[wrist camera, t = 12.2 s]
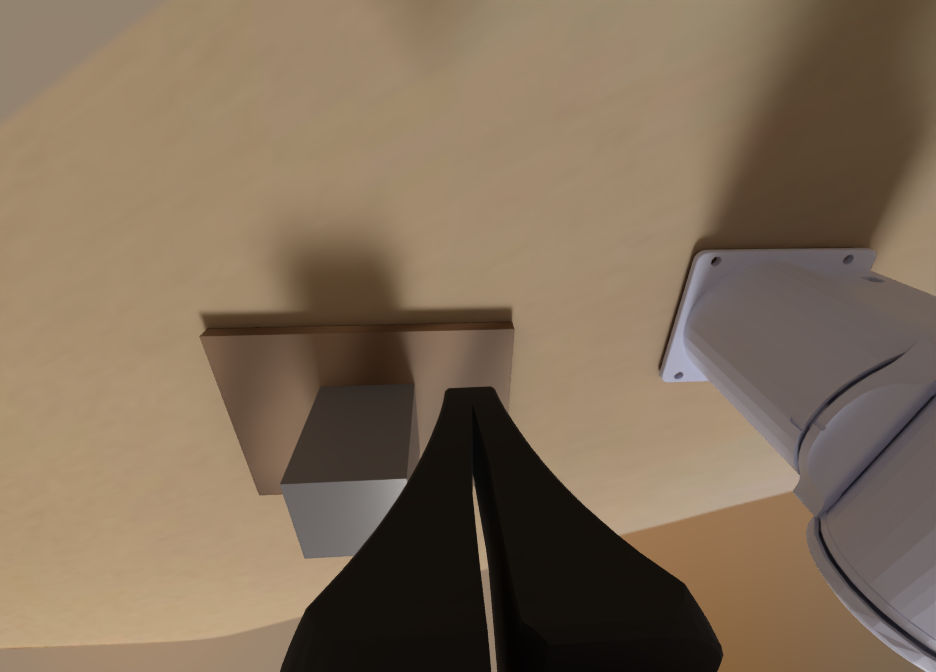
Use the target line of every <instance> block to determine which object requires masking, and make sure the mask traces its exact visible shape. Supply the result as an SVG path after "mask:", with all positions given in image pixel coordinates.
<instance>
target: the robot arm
mask: <svg viewBox="0 0 936 672" xmlns="http://www.w3.org/2000/svg"><path fill="white" fill-rule="evenodd" d="M715 257H717V259H716V261H715V262H714V263H712V264H711V261H712V259H714V258H715ZM845 257H846V259H845V260H844V258H845ZM875 259H876V252H875V251H874V250H872V249H869V248H811V249H731V250H702V251H700V252H699V253H697V254H696V255H695V257H694V259H693V262H692V266H691V269H690V272H689V276H688V279H687V282H686V286H685V289H684V292H683V296H682V299H681V302H680V306H679V309H678V312H677V316H676V319H675V322H674V326H673V329H672V332H671V336H670V339H669V342H668V346H667V349H666V352H665V356H664V359H663V363H662V366H661V369H660V373H659V376H660V377H661V379H662V380H663V381H665V382H690V381H710V382H711V383H712V384H713V385H714V386H715V387H716V388H717V390H718V391H719V392H720V393H721V394H722V395H723V396H724V397H725V398H726V399H727V400H728V401H729V402H730V403H731V404H732V405H733V406H734V407H735V408H736V409H737V410H738V411H739V412H740V413H741V415H742V416H743V417H744V418H745V419H746V420H747V421H748V422H749V423H750V424H751V425H752V426H753V427H754V428H755V429H756V430H757V431H758V432H759V433H760V434H761V435H762V436H763V437H764V438H765V440H766V441H767V442H768V443H769V444H770V445H771V446H772V447H773V448H774V449H775V450H776V451H777V452H778V453H779V454H780V455H781V456H782V457H783V458H784V459H785V460H786V461H787V462H788V464H789V465H790V466H791V467H792V468H793V469H794V470H795V471H796V472H797V473H798V474H799V475H800V480H799V482H798V484H797V486H796V487H795V489H794V490H793V493H794V494H795V495H796V496H797V497H798V498H799V500H800V501H801V502H802V503H803V504H804V505H805V506H806V507H807V508H808V509H809V511H810V512H811V513H812V514H813V515H814V517H813V518H812V519H811V520H810V522H809V523H808V526H807V530H806V539H807V544H808V548H809V551H810V554H811V555H812V558H813V560H814V562H815V563H816V566H817V568H818V569H819V571H820V572H821V574H822V576H823V577H824V579H825V580H826V582H827V583H828V584H829V586H830V587H831V589H832V590H833V591H834V593H835V594H836V596H837V597H838V598H839V599H840V601H841V602H842V603H843V604H844V605H845V606H846V608H847V609H848V610H849V611H850V612H851V613H852V614H853V615H854V616H855V617H856V618H857V619H858V620H859V621H860V622H861V623H862V624H863V625H864V626H865V627H866V628H867V629H868V630H869V631H870V632H872V633H873V634H874V635H875V636H876V637H877V638H879V639H880V640H881V641H882V642H883V643H885V644H886V645H887V646H889V647H890V648H891V649H892V650H894V651H895V652H897V653H898V654H899V655H901V656H902V657H904V658H905V659H907V660H908V661H910V662H911V663H913V664H914V665H916V666H917V667H919V668H921V669H922V670H924V671H926V672H936V296H933V295H931V294H928V293H926V292H923V291H921V290H918V289H916V288H913V287H911V286H908V285H906V284H903V283H901V282H898V281H896V280H893V279H891V278H888V277H886V276H883V275H880V274H878V273H875V272H873V271H870V268H871V266H872V264H873V263H874V261H875ZM677 372H679V373H678V374H677V375H675V374H676V373H677ZM473 477H474V483H475V489H476V495H477V500H478V506H479V512H480V517H481V523H482V529H483V534H484V540H485V546H486V552H487V560H488V567H489V578H490V590H491V602H492V613H493V624H494V636H495V649H496V661H497V672H717V670H718V669H719V666H720V663H721V661H722V658H723V652H722V647H721V645H720V643H719V641H718V639H717V637H716V635H715V633H714V631H713V629H712V627H711V625H710V623H709V621H708V620H707V618H706V616H705V615H704V613H703V612H702V610H701V608H700V607H699V605H698V604H697V602H696V601H695V599H694V597H693V596H692V594H691V593H690V591H689V590H688V588H687V587H686V585H685V584H684V583H683V582H681V581H680V580H679V579H677V578H676V577H674V576H673V575H671V574H670V573H668V572H667V571H666V570H664V569H663V568H661V567H660V566H658V565H657V564H656V563H654V562H653V561H651V560H650V559H649V558H647V557H646V556H644V555H643V554H641V553H640V552H639V551H637V550H636V549H635V548H634V547H632V546H631V545H630V544H628V543H627V542H626V541H625V540H623V539H622V538H621V537H620V536H618V535H617V534H616V533H615V532H614V531H613V530H611V529H610V528H609V527H608V526H607V525H606V524H605V523H603V522H602V521H601V520H600V519H599V518H598V517H597V516H595V515H594V514H593V513H592V512H591V511H590V510H589V509H588V508H586V507H585V506H584V505H583V504H582V503H581V502H580V501H579V500H578V499H577V498H576V497H575V496H574V495H573V494H572V493H571V492H570V491H569V490H568V489H567V488H566V487H565V486H564V485H563V484H562V483H561V482H560V481H559V480H558V479H557V477H556V476H555V475H554V474H553V473H552V472H551V471H550V470H549V468H548V467H547V466H546V465H545V464H544V463H543V461H542V460H541V459H540V458H539V456H538V455H537V454H536V453H535V451H534V450H533V449H532V448H531V446H530V445H529V444H528V442H527V441H526V439H525V438H524V437H523V435H522V434H521V432H520V431H519V429H518V428H517V427H516V425H515V424H514V422H513V421H512V419H511V417H510V416H509V414H508V413H507V411H506V409H505V408H504V406H503V404H502V402H501V400H500V398H499V396H498V394H497V392H496V390H495V389H494V388H493V387H492V386H485V387H463V388H448V389H447V390H446V391H445V393H444V399H443V404H442V408H441V411H440V414H439V417H438V420H437V423H436V425H435V427H434V430H433V432H432V435H431V437H430V440H429V442H428V444H427V446H426V448H425V450H424V452H423V454H422V456H421V458H420V460H419V462H418V464H417V466H416V468H415V470H414V472H413V473H412V475H411V477H410V479H409V480H408V482H407V484H406V485H405V487H404V489H403V490H402V492H401V493H400V495H399V497H398V498H397V500H396V501H395V503H394V504H393V505H392V507H391V508H390V510H389V511H388V513H387V514H386V516H385V517H384V519H383V520H382V521H381V523H380V524H379V525H378V527H377V528H376V529H375V531H374V532H373V533H372V534H371V536H370V537H369V538H368V539H367V541H366V542H365V543H364V544H363V546H362V547H361V548H360V549H359V551H358V552H357V553H356V554H355V555H354V557H353V558H352V559H351V560H350V562H349V563H348V564H347V565H346V566H345V567H344V568H343V570H342V571H341V572H340V573H339V574H338V575H337V576H336V577H335V578H334V579H333V580H332V581H331V583H330V584H329V585H328V586H327V587H326V588H325V589H324V590H323V591H322V592H321V593H320V594H319V595H318V597H317V598H316V599H315V600H314V601H313V602H312V603H311V604H310V605H309V606H308V607H307V609H306V610H305V612H304V614H303V616H302V619H301V621H300V623H299V625H298V627H297V630H296V631H295V634H294V636H293V639H292V641H291V643H290V646H289V648H288V651H287V654H286V656H285V659H284V662H283V664H282V667H281V670H280V672H491V664H490V652H489V642H488V630H487V622H486V614H485V606H484V597H483V588H482V581H481V571H480V562H479V553H478V544H477V534H476V525H475V515H474V505H473V494H472V492H473Z"/></svg>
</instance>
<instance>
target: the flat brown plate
mask: <svg viewBox="0 0 936 672" xmlns="http://www.w3.org/2000/svg"><path fill="white" fill-rule="evenodd" d="M199 337H200V339H201V342H202V345H203V347H204V350H205V353H206V355H207V358H208V361H209V363H210V366H211V369H212V371H213V374H214V377H215V379H216V382H217V385H218V387H219V390H220V392H221V395H222V398H223V400H224V403H225V406H226V408H227V411H228V414H229V416H230V419H231V422H232V424H233V427H234V430H235V432H236V435H237V438H238V440H239V443H240V446H241V448H242V451H243V454H244V456H245V459H246V462H247V464H248V467H249V469H250V472H251V475H252V477H253V480H254V483H255V485H256V488H257V491H258V493H259V495H279V494H283V493H282V490H281V487H280V483H281V480H282V478H283V475H284V473H285V471H286V468H287V466H288V463H289V461H290V459H291V456H292V454H293V451H294V449H295V447H296V444H297V442H298V439H299V437H300V434H301V432H302V430H303V427H304V425H305V422H306V420H307V418H308V415H309V413H310V410H311V408H312V405H313V403H314V401H315V398H316V396H317V393H318V391H319V389H320V387H331V386H361V385H392V384H415V393H416V407H417V420H418V433H419V446H420V458H421V456H422V454H423V452H424V450H425V448H426V446H427V444H428V442H429V440H430V437H431V435H432V432H433V430H434V427H435V425H436V423H437V420H438V417H439V414H440V411H441V408H442V404H443V399H444V393H445V391H446V390H447V389H448V388H463V387H485V386H492V387H493V388H494V389H495V390H496V392H497V394H498V396H499V398H500V400H501V402H502V404H503V406H504V408H505V409H506V411H507V413H508V409H509V395H510V382H511V369H512V355H513V342H514V326H513V323H512V322H490V323H445V324H400V325H355V326H310V327H266V328H221V329H207V330H206V331H205V332H204V333H203V334H202V335H200V336H199ZM420 458H419V460H420ZM473 486H475V483H474V477H473Z"/></svg>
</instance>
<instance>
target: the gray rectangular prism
mask: <svg viewBox="0 0 936 672" xmlns="http://www.w3.org/2000/svg"><path fill="white" fill-rule="evenodd" d="M419 458H420V446H419V433H418V420H417V407H416V393H415V384H392V385H361V386H331V387H320V389H319V391H318V393H317V396H316V398H315V401H314V403H313V405H312V408H311V410H310V413H309V415H308V418H307V420H306V422H305V425H304V427H303V430H302V432H301V434H300V437H299V439H298V442H297V444H296V447H295V449H294V451H293V454H292V456H291V459H290V461H289V463H288V466H287V468H286V471H285V473H284V475H283V478H282V480H281V483H280V487H281V490H282V493H283V496H284V499H285V502H286V505H287V508H288V510H289V513H290V516H291V519H292V522H293V525H294V528H295V531H296V534H297V537H298V540H299V543H300V546H301V549H302V552H303V555H304V558H305V559H307V558H325V557H342V556H354V555H355V554H356V553H357V552H358V551H359V549H360V548H361V547H362V546H363V544H364V543H365V542H366V541H367V539H368V538H369V537H370V536H371V534H372V533H373V532H374V531H375V529H376V528H377V527H378V525H379V524H380V523H381V521H382V520H383V519H384V517H385V516H386V514H387V513H388V511H389V510H390V508H391V507H392V505H393V504H394V503H395V501H396V500H397V498H398V497H399V495H400V493H401V492H402V490H403V489H404V487H405V485H406V484H407V482H408V480H409V479H410V477H411V475H412V473H413V472H414V470H415V468H416V466H417V464H418V462H419Z"/></svg>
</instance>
